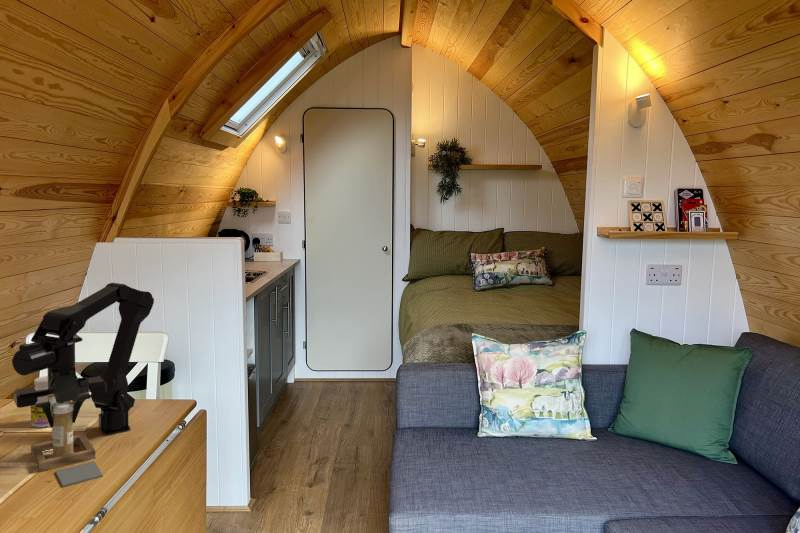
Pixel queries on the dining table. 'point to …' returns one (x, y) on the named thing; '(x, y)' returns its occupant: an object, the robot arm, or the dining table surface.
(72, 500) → the dining table surface
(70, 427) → the sprinkles bottle
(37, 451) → the walnut collar stand
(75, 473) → the grey flat square slab
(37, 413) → the supplement bottle
